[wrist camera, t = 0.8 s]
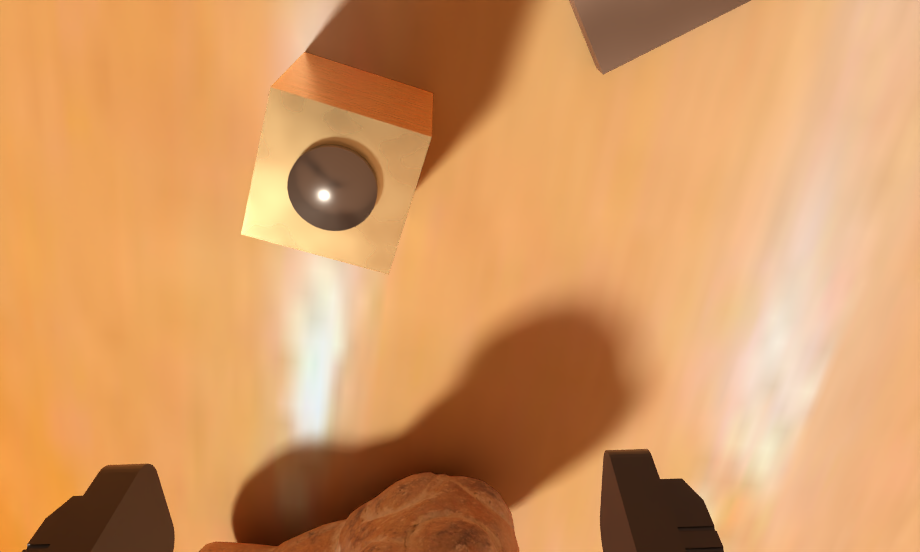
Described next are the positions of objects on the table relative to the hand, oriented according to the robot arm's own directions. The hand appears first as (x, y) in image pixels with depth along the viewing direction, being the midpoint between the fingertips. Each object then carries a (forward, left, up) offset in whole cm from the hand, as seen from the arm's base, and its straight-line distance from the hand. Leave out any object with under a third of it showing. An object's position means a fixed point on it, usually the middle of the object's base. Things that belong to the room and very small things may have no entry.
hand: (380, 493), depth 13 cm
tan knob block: (-2, -1, -18) cm, 18 cm away
